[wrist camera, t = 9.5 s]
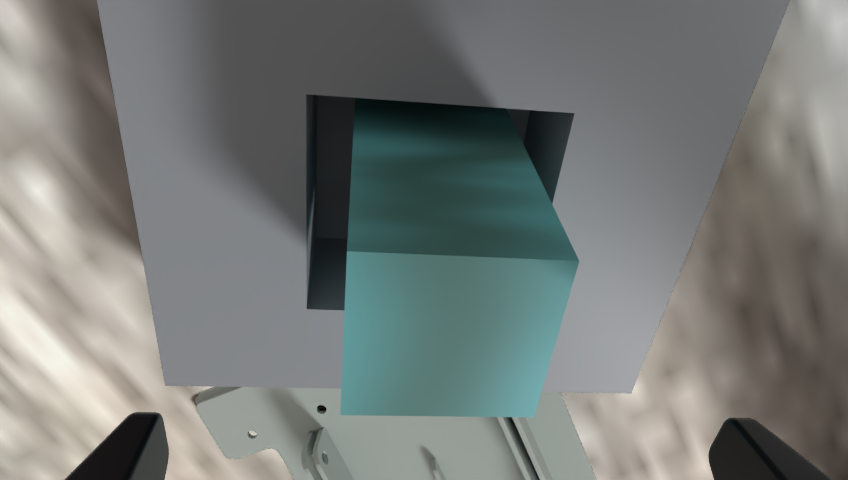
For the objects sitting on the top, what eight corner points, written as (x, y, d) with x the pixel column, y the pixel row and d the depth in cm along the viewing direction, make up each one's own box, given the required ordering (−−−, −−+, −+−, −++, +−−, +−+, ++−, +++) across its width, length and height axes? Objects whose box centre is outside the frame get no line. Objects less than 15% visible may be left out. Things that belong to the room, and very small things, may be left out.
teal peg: (499, 94, 17) (579, 261, 11) (478, 216, 20) (533, 417, 13) (356, 84, 17) (346, 251, 10) (350, 210, 19) (340, 414, 13)
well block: (707, -44, 16) (793, -10, 13) (593, 310, 23) (631, 393, 20) (147, -102, 15) (82, -80, 11) (197, 297, 21) (165, 385, 18)
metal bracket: (693, 580, 23) (334, 681, 26) (646, 475, 29) (355, 566, 31) (564, 246, 19) (156, 401, 22) (539, 198, 25) (215, 327, 27)
